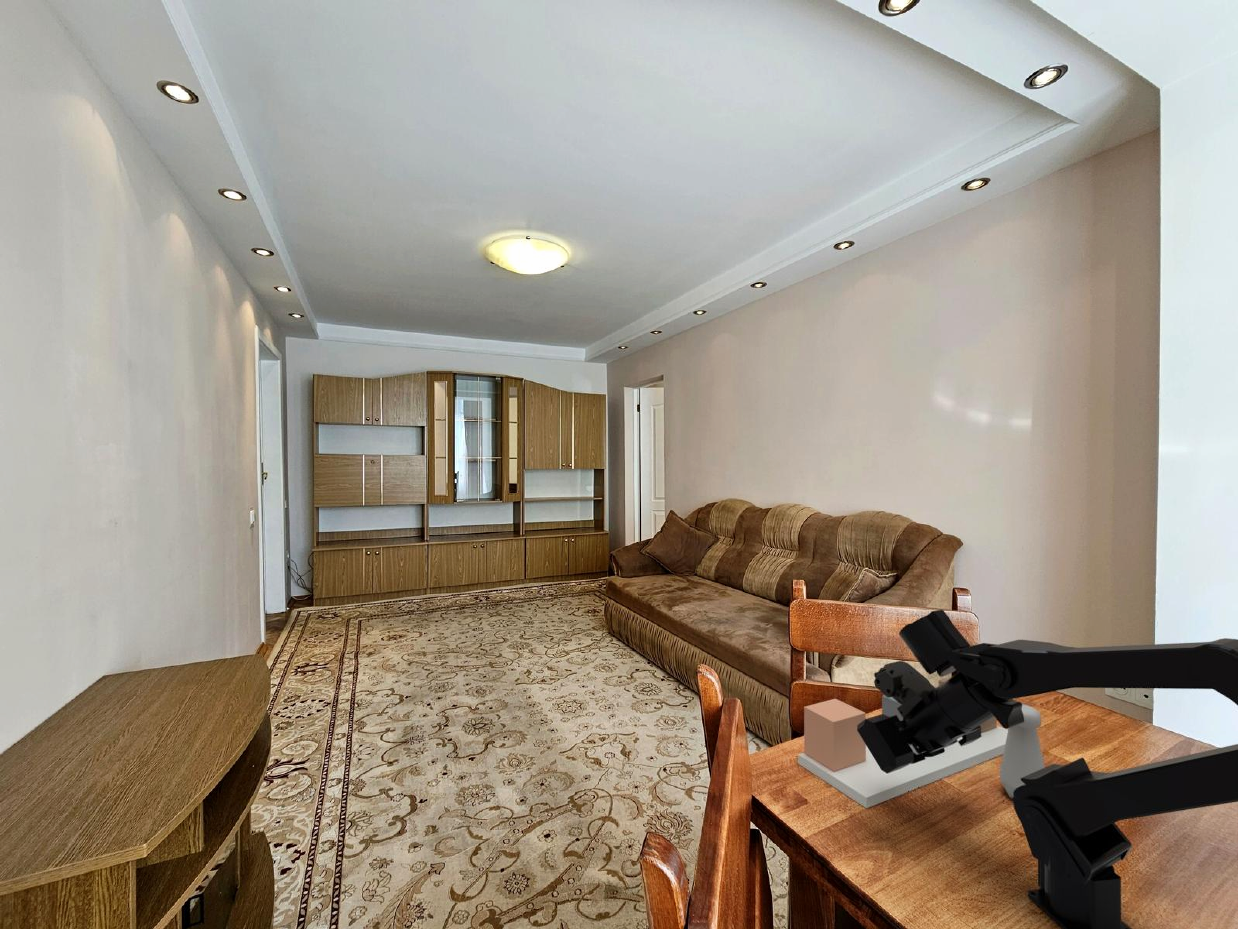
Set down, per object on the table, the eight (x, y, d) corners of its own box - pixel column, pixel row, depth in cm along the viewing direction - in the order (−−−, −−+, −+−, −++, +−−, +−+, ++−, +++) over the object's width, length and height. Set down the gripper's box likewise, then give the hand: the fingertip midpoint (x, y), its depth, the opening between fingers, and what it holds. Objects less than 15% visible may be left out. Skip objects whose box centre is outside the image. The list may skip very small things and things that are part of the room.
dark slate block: (942, 746, 91) (942, 701, 91) (915, 756, 88) (914, 709, 88) (909, 731, 96) (909, 688, 96) (882, 740, 93) (882, 695, 93)
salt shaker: (1058, 812, 76) (1057, 718, 76) (1011, 807, 77) (1010, 714, 77) (1035, 787, 82) (1034, 700, 82) (992, 783, 83) (991, 697, 83)
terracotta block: (865, 760, 86) (865, 713, 87) (833, 771, 83) (833, 722, 83) (835, 743, 92) (835, 698, 92) (804, 753, 89) (804, 706, 89)
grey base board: (950, 715, 106) (950, 707, 106) (1024, 745, 94) (1024, 736, 94) (798, 763, 89) (798, 754, 89) (866, 808, 77) (866, 797, 77)
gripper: (956, 639, 79) (891, 691, 89) (867, 660, 71) (805, 714, 81) (1018, 715, 72) (939, 762, 82) (926, 747, 64) (851, 795, 73)
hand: (884, 755), depth 80 cm, fingers closed
